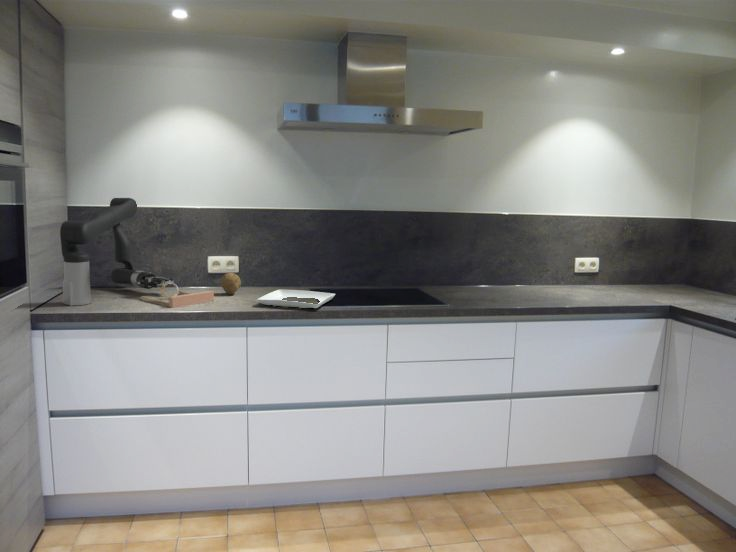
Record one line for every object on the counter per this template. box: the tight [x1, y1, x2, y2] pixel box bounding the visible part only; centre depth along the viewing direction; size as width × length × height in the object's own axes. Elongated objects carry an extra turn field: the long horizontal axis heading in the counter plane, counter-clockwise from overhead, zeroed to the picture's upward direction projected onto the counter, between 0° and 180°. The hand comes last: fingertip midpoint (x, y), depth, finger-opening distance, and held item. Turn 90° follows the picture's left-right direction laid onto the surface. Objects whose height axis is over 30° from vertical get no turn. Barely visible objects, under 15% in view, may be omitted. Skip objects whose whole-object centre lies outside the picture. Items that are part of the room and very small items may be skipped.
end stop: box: [168, 290, 215, 309], centre depth 248 cm, size 20×2×4 cm, turn 143°
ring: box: [160, 280, 180, 299], centre depth 256 cm, size 7×3×8 cm, turn 99°
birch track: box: [140, 290, 194, 308], centre depth 254 cm, size 20×20×2 cm
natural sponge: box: [220, 272, 242, 296], centre depth 271 cm, size 9×9×10 cm
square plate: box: [256, 288, 336, 309], centre depth 257 cm, size 27×27×4 cm
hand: (165, 283), depth 258 cm, fingers open, 8 cm apart
